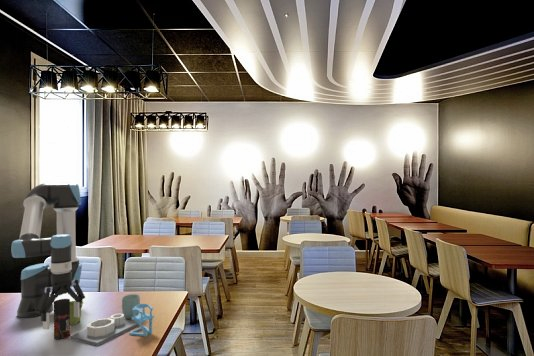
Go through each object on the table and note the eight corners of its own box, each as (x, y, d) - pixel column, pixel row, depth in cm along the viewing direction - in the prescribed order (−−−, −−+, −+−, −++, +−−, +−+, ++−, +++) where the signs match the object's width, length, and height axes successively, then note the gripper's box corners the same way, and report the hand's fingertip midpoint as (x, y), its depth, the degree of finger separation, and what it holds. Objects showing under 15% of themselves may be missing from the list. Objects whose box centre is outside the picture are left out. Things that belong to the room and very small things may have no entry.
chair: (141, 339, 145) (141, 309, 145) (128, 334, 150) (128, 306, 150) (156, 332, 152) (156, 304, 152) (143, 328, 156) (143, 300, 156)
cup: (133, 321, 164) (133, 299, 164) (118, 320, 165) (118, 299, 165) (143, 315, 171) (142, 294, 171) (128, 314, 173) (128, 293, 173)
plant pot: (59, 328, 157) (59, 308, 157) (61, 321, 166) (60, 302, 166) (83, 324, 162) (83, 305, 162) (83, 317, 170) (83, 299, 170)
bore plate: (70, 338, 146) (70, 327, 146) (113, 319, 166) (113, 309, 166) (97, 345, 140) (97, 334, 140) (139, 325, 160) (139, 314, 160)
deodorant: (58, 334, 151) (57, 299, 151) (72, 333, 152) (72, 298, 152) (51, 340, 145) (50, 303, 145) (66, 339, 146) (65, 303, 146)
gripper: (37, 280, 136) (37, 336, 136) (93, 266, 158) (93, 313, 158) (25, 278, 139) (25, 332, 139) (81, 264, 162) (82, 311, 161)
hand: (62, 322), depth 148 cm, fingers open, 13 cm apart
